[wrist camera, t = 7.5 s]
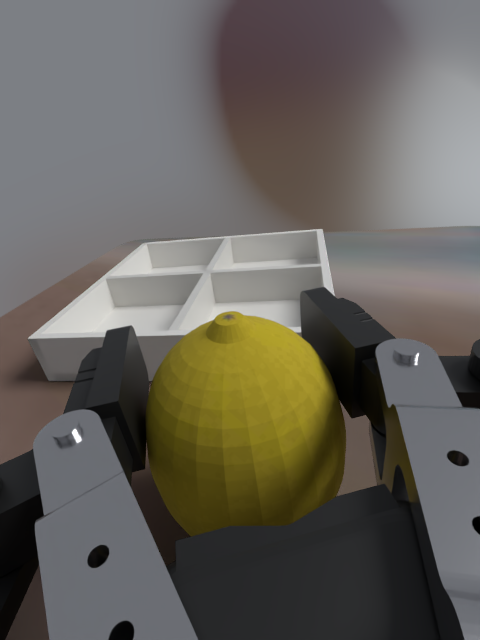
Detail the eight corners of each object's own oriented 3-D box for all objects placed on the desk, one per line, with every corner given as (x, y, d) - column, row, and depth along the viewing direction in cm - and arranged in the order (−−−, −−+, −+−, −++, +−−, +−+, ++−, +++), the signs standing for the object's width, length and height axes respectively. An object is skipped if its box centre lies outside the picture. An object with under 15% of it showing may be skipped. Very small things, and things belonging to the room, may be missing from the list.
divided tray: (339, 381, 17) (341, 331, 16) (48, 380, 21) (27, 338, 19) (322, 261, 32) (322, 228, 30) (151, 272, 35) (143, 242, 33)
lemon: (146, 566, 11) (50, 363, 7) (225, 436, 15) (192, 265, 11) (318, 657, 9) (315, 431, 5) (355, 475, 13) (370, 276, 9)
